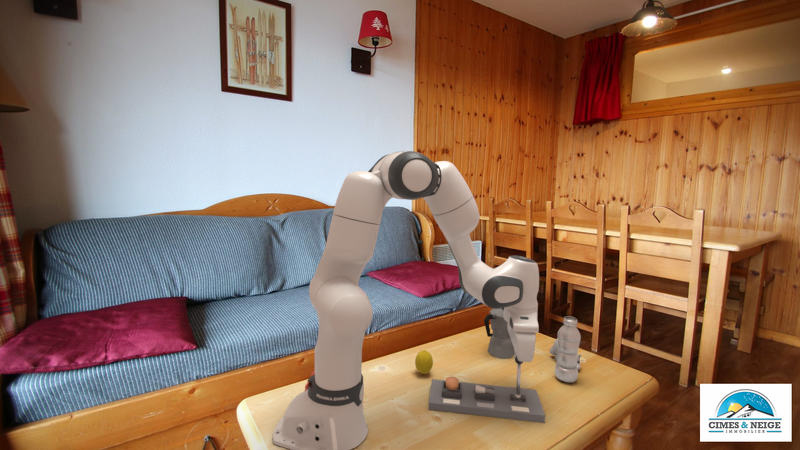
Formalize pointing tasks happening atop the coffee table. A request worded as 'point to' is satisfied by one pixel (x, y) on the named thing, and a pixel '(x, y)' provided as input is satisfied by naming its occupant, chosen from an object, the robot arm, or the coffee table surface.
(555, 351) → the round bodied animal figurine
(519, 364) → the toggle lever
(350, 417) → the robot arm
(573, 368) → the plastic bottle
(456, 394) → the control panel
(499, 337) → the coffeepot
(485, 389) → the rocker switch
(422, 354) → the lemon
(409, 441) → the coffee table surface
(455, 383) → the push button
